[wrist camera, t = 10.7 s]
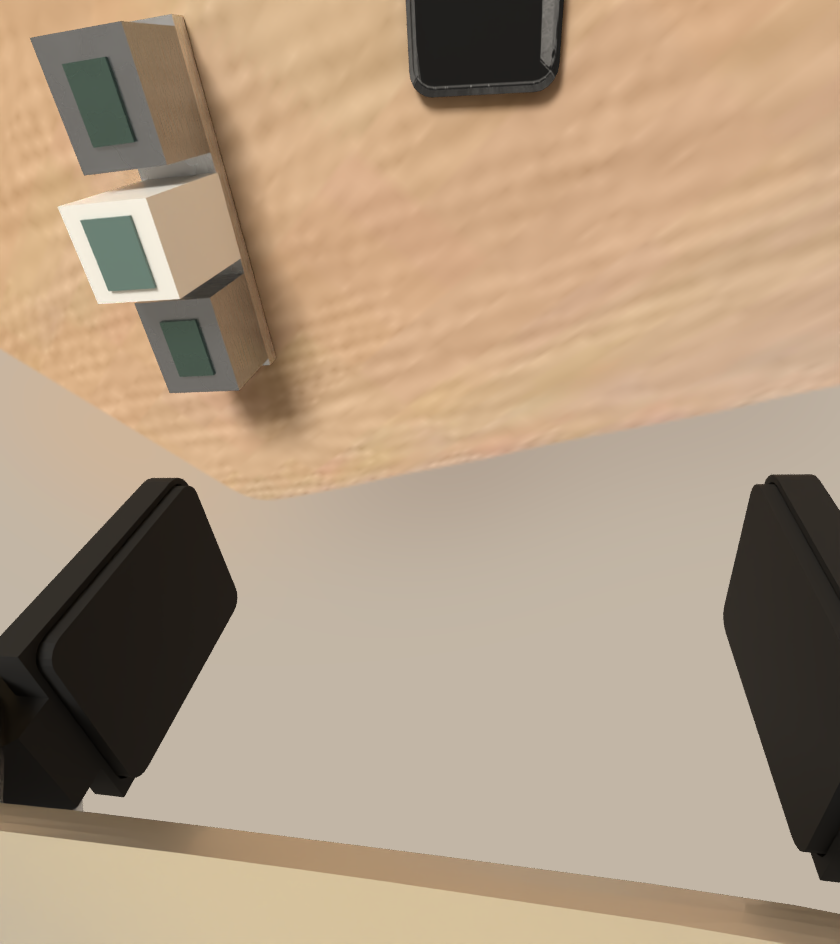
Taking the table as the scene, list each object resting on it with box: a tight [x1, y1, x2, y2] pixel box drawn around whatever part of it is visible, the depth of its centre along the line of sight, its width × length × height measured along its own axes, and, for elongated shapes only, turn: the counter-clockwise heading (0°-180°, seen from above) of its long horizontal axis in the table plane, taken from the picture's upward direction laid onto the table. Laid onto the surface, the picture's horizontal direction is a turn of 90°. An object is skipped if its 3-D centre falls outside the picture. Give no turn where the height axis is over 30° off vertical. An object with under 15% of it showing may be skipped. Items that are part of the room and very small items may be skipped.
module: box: [58, 172, 241, 304], centre depth 34 cm, size 5×5×8 cm
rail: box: [30, 14, 276, 393], centre depth 36 cm, size 5×20×6 cm, turn 7°
